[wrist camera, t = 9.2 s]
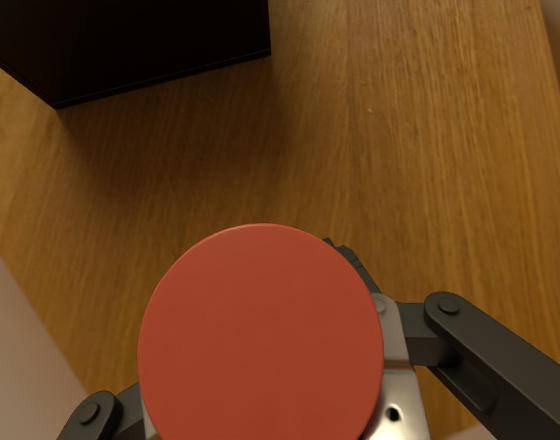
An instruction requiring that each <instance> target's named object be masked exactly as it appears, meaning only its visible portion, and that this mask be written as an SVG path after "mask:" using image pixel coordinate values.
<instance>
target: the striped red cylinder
mask: <svg viewBox="0 0 560 440" xmlns="http://www.w3.org/2000/svg"><path fill="white" fill-rule="evenodd" d="M137 369H138V381H139V386H140V391H141V396H142V399H143V402H144V405H145V408H146V411H147V414H148V416H149V418H150V420H151V422H152V424H153V426H154V428H155V430H156V432H157V433H158V435H159V436H160V438H161V439H162V440H358V438H359V437H360V435H361V434H362V432H363V431H364V429H365V427H366V425H367V423H368V421H369V419H370V417H371V415H372V413H373V411H374V408H375V405H376V402H377V399H378V397H379V393H380V388H381V383H382V379H383V369H384V340H383V334H382V327H381V323H380V319H379V316H378V312H377V309H376V306H375V304H374V301H373V299H372V297H371V294H370V292H369V290H368V289H367V287H366V285H365V283H364V282H363V280H362V278H361V277H360V275H359V274H358V273H357V271H356V270H355V269H354V267H353V266H352V265H351V264H350V263H349V262H348V261H347V260H346V259H345V258H344V257H343V256H342V255H341V254H340V253H339V252H338V251H337V250H335V249H334V248H333V247H332V246H330V245H329V244H327V243H326V242H324V241H323V240H321V239H319V238H318V237H316V236H314V235H312V234H309V233H307V232H305V231H303V230H300V229H296V228H293V227H290V226H285V225H279V224H270V223H255V224H245V225H240V226H235V227H231V228H228V229H225V230H222V231H219V232H217V233H215V234H213V235H211V236H209V237H207V238H205V239H203V240H202V241H200V242H199V243H197V244H196V245H194V246H192V247H191V248H190V249H189V250H188V251H186V252H185V253H184V254H183V255H182V256H180V257H179V259H178V260H177V261H176V262H175V263H174V264H173V265H172V266H171V267H170V268H169V270H168V271H167V272H166V274H165V275H164V276H163V278H162V279H161V280H160V282H159V284H158V286H157V287H156V289H155V291H154V293H153V294H152V296H151V299H150V301H149V303H148V306H147V308H146V310H145V314H144V317H143V321H142V324H141V328H140V334H139V340H138V349H137Z"/></svg>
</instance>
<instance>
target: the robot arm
mask: <svg viewBox="0 0 560 440" xmlns="http://www.w3.org/2000/svg"><path fill="white" fill-rule="evenodd" d="M322 240H323V241H324V242H326V243H327V244H329V245H330V246H332V247H333V248H334V249H335V250H337V251H338V252H339V253H340V254H341V255H342V256H343V257H344V258H345V259H346V260H347V261H348V262H349V263H350V264H351V265H352V266H353V267H354V269H355V270H356V271H357V273H358V274H359V275H360V277H361V278H362V280H363V282H364V283H365V285H366V287H367V289H368V290H369V292H370V294H371V297H372V299H373V301H374V304H375V306H376V309H377V312H378V316H379V319H380V323H381V327H382V334H383V340H384V369H383V379H382V383H381V388H380V393H379V397H378V399H377V402H376V405H375V408H374V411H373V413H372V415H371V417H370V419H369V421H368V423H367V425H366V427H365V429H364V431H363V433H362V434H361V435H360V437H359V438H358V440H431V438H430V433H429V429H428V425H427V420H426V416H425V411H424V407H423V402H422V398H421V394H420V389H419V385H418V380H417V376H416V372H415V369H414V366H413V365H420V366H426V367H427V368H428V369H429V370H430V371H431V372H432V373H433V374H434V375H435V376H436V377H437V378H438V379H439V380H440V381H441V382H442V383H443V384H444V385H445V386H446V387H447V388H448V389H449V390H450V391H451V392H452V393H453V394H454V396H455V397H456V398H457V399H458V400H459V401H460V402H461V403H462V404H463V405H464V406H465V407H466V408H467V409H468V410H469V411H470V412H471V413H472V414H473V415H474V416H475V417H476V418H477V419H478V420H479V421H480V422H481V423H482V424H483V425H484V426H485V428H486V429H487V430H488V431H490V432H491V434H492V435H493V436H494V437H495V438H496V439H497V440H560V364H558V363H557V362H555V361H554V360H552V359H551V358H549V357H548V356H547V355H545V354H544V353H542V352H541V351H539V350H538V349H536V348H535V347H534V346H532V345H531V344H529V343H528V342H526V341H525V340H523V339H522V338H521V337H519V336H518V335H516V334H515V333H513V332H512V331H510V330H509V329H508V328H506V327H505V326H503V325H502V324H500V323H499V322H497V321H496V320H494V319H493V318H492V317H490V316H489V315H487V314H486V313H484V312H483V311H481V310H480V309H479V308H477V307H476V306H474V305H473V304H471V303H470V302H468V301H467V300H466V299H464V298H462V297H461V296H459V295H457V294H454V293H450V292H435V293H432V294H430V295H429V296H427V298H426V299H425V302H424V303H401V302H396V301H394V300H393V299H392V298H390V297H389V296H387V295H385V294H382V292H381V291H380V290H379V288H378V287H377V285H376V284H375V283H374V281H373V280H372V278H371V277H370V275H369V274H368V272H367V271H366V269H365V268H364V267H363V265H362V263H361V262H360V261H359V260H358V258H357V256H356V255H355V253H354V252H353V251H352V250H351V249H349V248H348V247H346V246H344V245H342V246H339V247H335V246H334V244H333V243H332V241H331V239H330V238H325V239H322ZM56 440H162V439H161V438H160V436H159V435H158V433H157V432H156V430H155V428H154V426H153V424H152V422H151V420H150V418H149V416H148V414H147V411H146V408H145V405H144V402H143V399H142V396H141V391H140V386H139V381H138V382H137V383H135V384H134V385H132V386H130V387H129V388H127V389H126V390H124V391H122V392H121V393H119V394H117V395H116V396H114V395H113V394H112V393H111V392H109V391H99V392H96V393H94V394H92V395H91V396H89V397H88V398H86V399H85V400H84V401H83V402H82V403H80V405H79V406H78V407H77V408H76V409H75V410H74V412H73V413H72V415H71V416H70V418H69V420H68V421H67V423H66V425H65V426H64V428H63V430H62V431H61V433H60V435H59V436H58V438H57V439H56Z"/></svg>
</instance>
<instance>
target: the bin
mask: <svg viewBox="0 0 560 440" xmlns="http://www.w3.org/2000/svg"><path fill="white" fill-rule="evenodd" d="M269 55H271V40H270V26H269V11H268V0H0V68H1V69H2V70H4V71H5V72H6V73H8V74H9V75H10V76H12V77H13V78H14V79H15V80H17V81H18V82H19V83H21V84H22V85H23V86H25V87H26V88H27V89H28V90H30V91H31V92H32V93H34V94H35V95H36V96H38V97H39V98H40V99H42V100H43V101H44V102H45V103H47V104H49V106H51V107H52V108H53V109H55V110H56V109H60V108H64V107H68V106H72V105H76V104H80V103H84V102H88V101H92V100H95V99H99V98H103V97H107V96H111V95H115V94H119V93H123V92H127V91H131V90H135V89H139V88H143V87H147V86H151V85H155V84H158V83H162V82H166V81H170V80H174V79H178V78H182V77H186V76H190V75H194V74H198V73H202V72H206V71H210V70H214V69H217V68H221V67H225V66H229V65H233V64H237V63H241V62H245V61H249V60H253V59H257V58H261V57H265V56H269Z"/></svg>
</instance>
